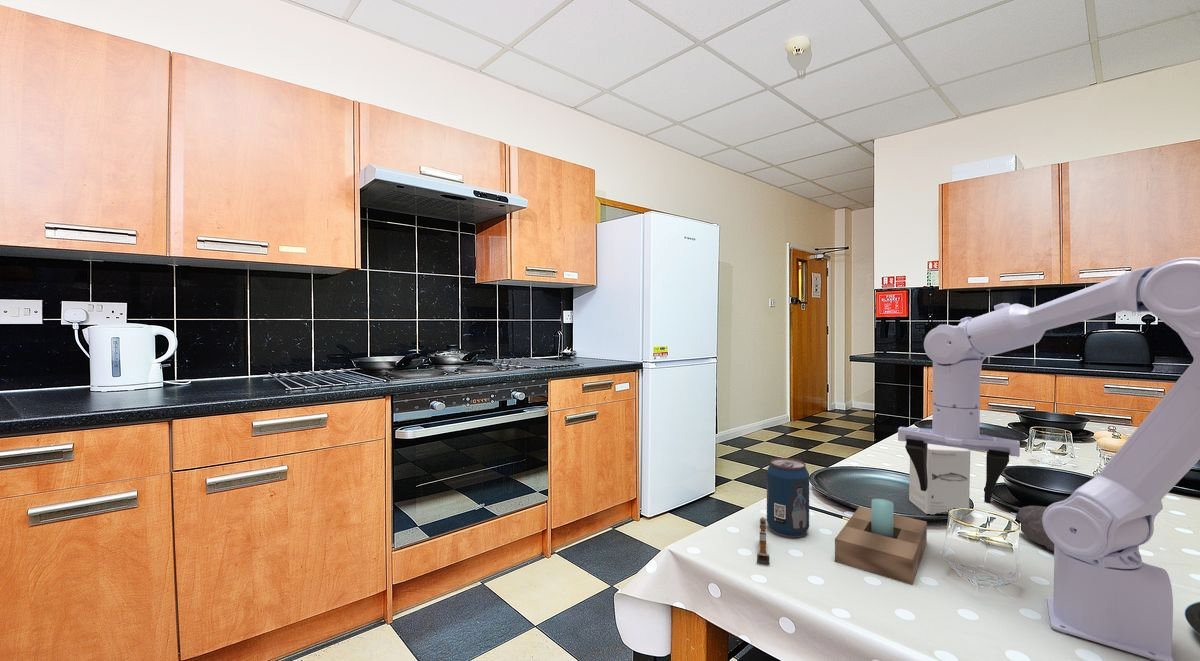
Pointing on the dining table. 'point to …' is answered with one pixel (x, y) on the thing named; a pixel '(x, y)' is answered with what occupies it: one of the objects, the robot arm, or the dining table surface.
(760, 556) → the brown long banded part
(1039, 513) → the perforated stone tool
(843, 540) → the hole block
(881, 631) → the dining table surface
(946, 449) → the supplement box
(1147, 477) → the robot arm
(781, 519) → the soda can
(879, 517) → the peg
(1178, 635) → the dining table surface
